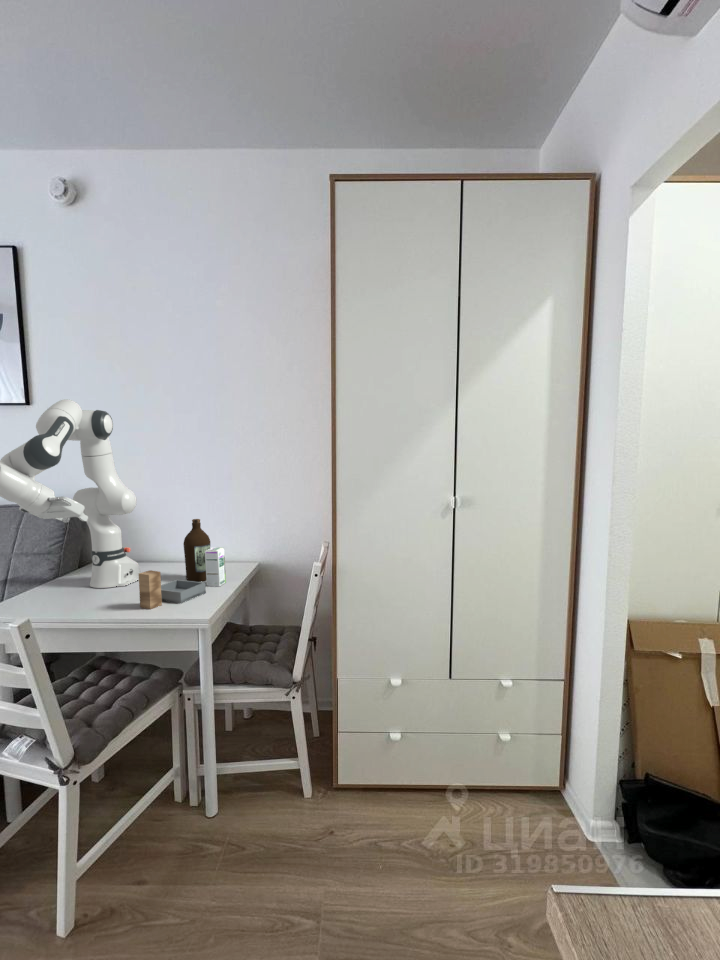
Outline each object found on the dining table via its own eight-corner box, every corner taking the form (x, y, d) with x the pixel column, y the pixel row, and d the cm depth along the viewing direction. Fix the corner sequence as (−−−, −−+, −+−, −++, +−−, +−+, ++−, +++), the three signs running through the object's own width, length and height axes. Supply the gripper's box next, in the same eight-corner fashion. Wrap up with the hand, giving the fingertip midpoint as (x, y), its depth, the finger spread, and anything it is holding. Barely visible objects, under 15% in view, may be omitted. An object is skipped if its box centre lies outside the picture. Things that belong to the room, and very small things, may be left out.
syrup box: (220, 586, 217) (218, 550, 215) (206, 586, 218) (204, 550, 217) (226, 583, 222) (224, 547, 221) (212, 582, 223) (211, 547, 222)
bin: (177, 589, 214) (176, 579, 213) (205, 593, 208) (205, 582, 208) (151, 599, 201) (150, 588, 201) (181, 603, 196) (180, 592, 195)
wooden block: (150, 609, 190) (148, 575, 189) (140, 607, 192) (138, 573, 191) (161, 605, 194) (160, 571, 193) (151, 603, 196) (150, 570, 195)
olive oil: (179, 579, 228) (177, 519, 226) (202, 574, 236) (200, 516, 234) (194, 584, 221) (191, 522, 219) (216, 578, 229) (214, 518, 227)
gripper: (64, 488, 166) (101, 509, 176) (25, 492, 176) (62, 512, 186) (55, 507, 163) (93, 527, 173) (15, 510, 173) (54, 529, 183)
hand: (77, 519), depth 180 cm, fingers open, 8 cm apart
